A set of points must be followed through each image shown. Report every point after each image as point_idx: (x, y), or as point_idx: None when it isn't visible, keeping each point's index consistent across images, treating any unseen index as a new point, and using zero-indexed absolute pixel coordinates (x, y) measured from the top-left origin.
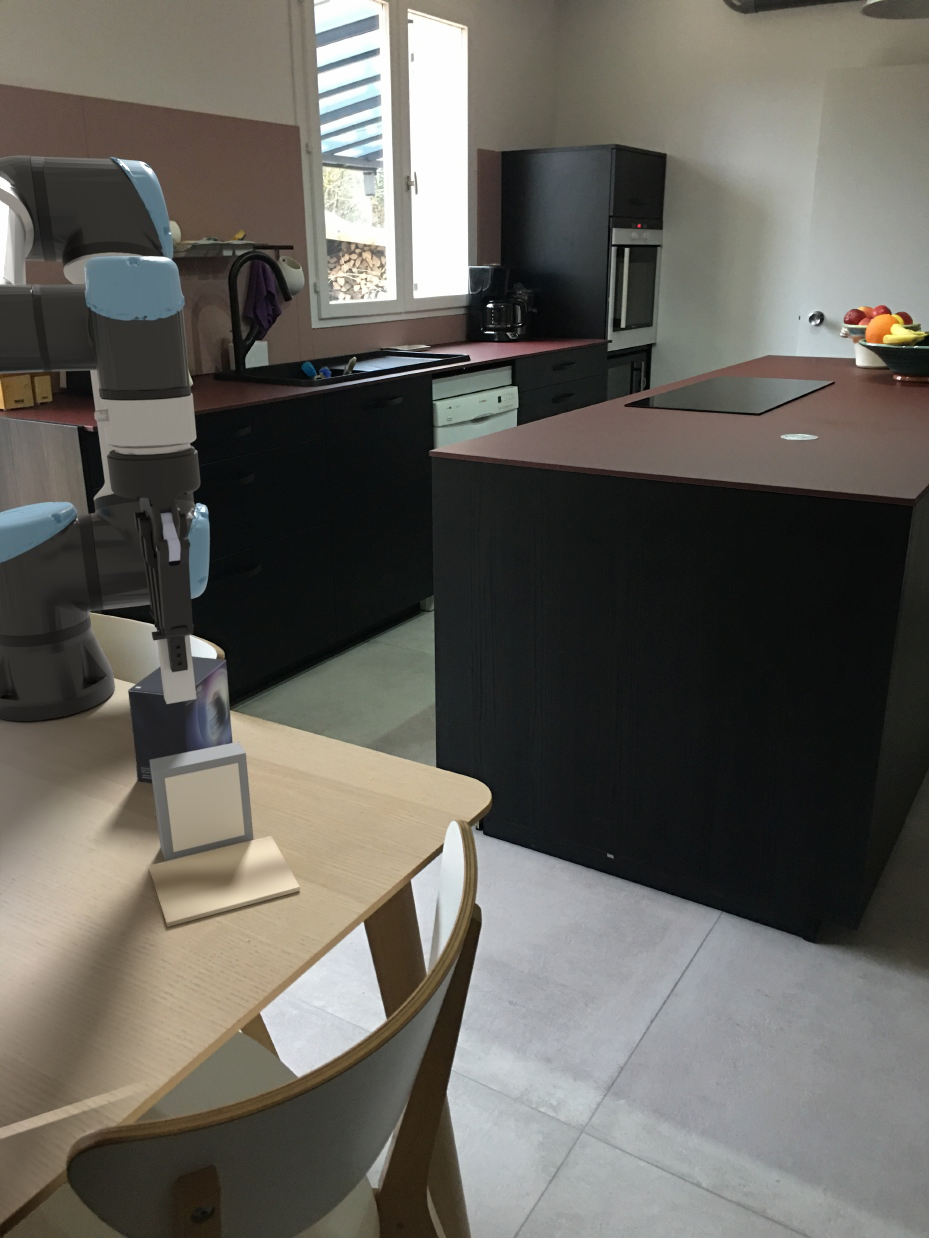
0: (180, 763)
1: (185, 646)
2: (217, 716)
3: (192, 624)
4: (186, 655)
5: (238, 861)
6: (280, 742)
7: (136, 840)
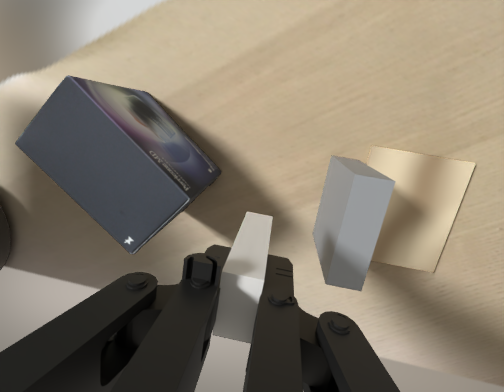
0: (362, 260)
1: (293, 289)
2: (153, 119)
3: (370, 345)
4: (289, 275)
5: (392, 191)
6: (171, 36)
7: (287, 245)
